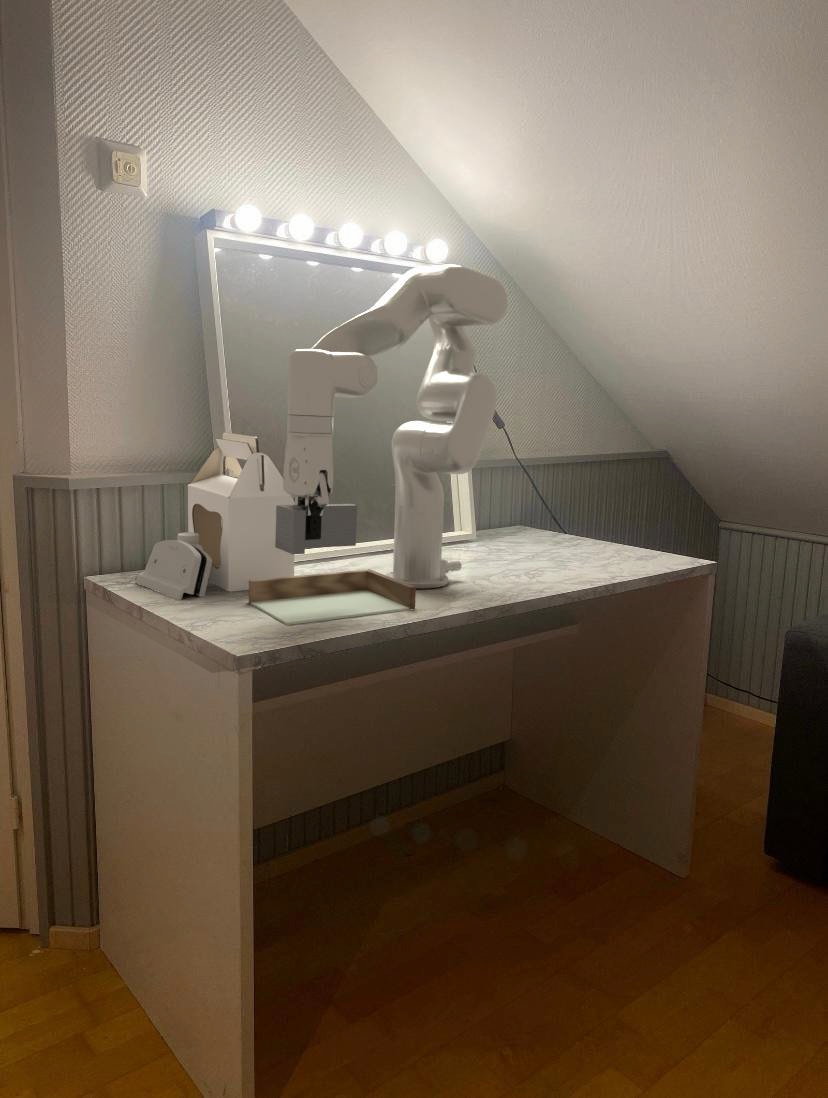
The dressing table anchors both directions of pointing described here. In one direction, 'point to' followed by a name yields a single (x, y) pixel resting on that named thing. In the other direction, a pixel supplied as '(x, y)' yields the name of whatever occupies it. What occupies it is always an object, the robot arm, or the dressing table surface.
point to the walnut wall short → (391, 589)
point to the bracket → (334, 527)
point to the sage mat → (328, 607)
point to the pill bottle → (190, 538)
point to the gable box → (239, 514)
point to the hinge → (176, 569)
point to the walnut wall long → (307, 585)
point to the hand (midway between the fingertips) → (308, 537)
